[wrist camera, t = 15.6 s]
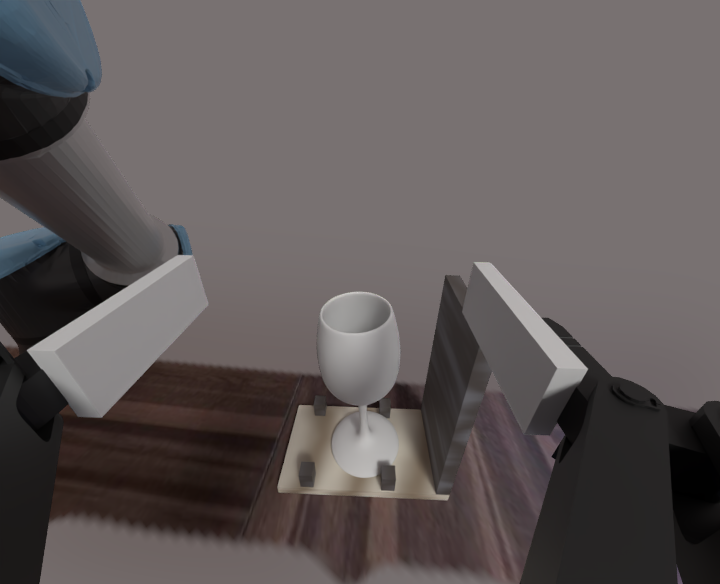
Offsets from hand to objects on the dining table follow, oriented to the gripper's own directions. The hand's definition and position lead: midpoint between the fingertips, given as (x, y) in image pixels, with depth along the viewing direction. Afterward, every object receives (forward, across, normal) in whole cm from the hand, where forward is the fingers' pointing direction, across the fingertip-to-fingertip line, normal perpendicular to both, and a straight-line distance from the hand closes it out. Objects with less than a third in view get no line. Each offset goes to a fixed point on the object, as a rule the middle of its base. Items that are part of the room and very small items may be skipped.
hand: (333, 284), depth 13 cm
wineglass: (+10, +2, -29) cm, 30 cm away
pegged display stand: (+10, +2, -30) cm, 32 cm away
